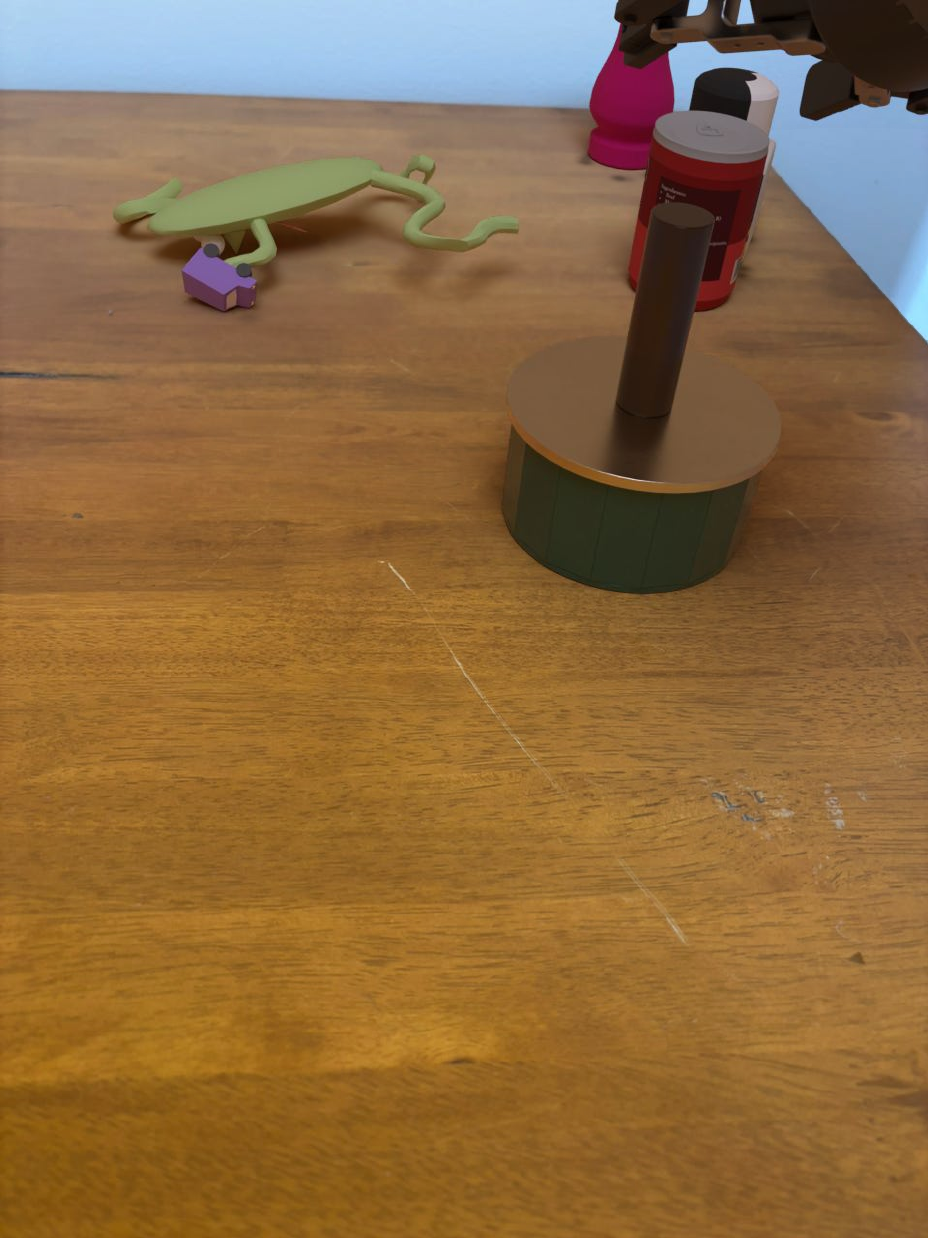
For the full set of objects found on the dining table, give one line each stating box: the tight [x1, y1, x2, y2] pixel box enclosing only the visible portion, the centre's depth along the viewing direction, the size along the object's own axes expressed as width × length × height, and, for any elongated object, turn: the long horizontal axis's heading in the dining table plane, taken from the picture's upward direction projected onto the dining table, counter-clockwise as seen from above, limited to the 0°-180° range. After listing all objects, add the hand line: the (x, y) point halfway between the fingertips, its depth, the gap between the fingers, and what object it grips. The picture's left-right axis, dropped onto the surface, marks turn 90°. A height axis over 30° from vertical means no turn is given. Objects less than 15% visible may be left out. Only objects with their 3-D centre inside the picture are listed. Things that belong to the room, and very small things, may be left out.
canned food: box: [628, 110, 770, 312], centre depth 79 cm, size 8×8×11 cm
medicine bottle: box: [688, 67, 780, 264], centre depth 85 cm, size 7×7×12 cm
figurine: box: [112, 153, 520, 312], centre depth 80 cm, size 18×27×6 cm
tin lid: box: [505, 202, 783, 494], centre depth 54 cm, size 14×14×11 cm
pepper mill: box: [587, 23, 675, 170], centre depth 94 cm, size 7×7×20 cm
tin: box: [501, 423, 764, 594], centre depth 59 cm, size 13×13×6 cm
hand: (723, 69), depth 49 cm, fingers open, 8 cm apart
